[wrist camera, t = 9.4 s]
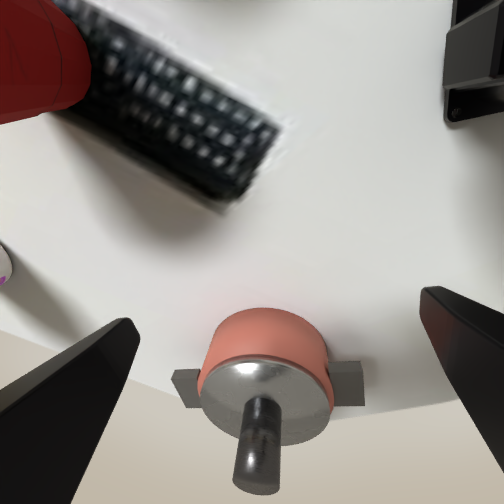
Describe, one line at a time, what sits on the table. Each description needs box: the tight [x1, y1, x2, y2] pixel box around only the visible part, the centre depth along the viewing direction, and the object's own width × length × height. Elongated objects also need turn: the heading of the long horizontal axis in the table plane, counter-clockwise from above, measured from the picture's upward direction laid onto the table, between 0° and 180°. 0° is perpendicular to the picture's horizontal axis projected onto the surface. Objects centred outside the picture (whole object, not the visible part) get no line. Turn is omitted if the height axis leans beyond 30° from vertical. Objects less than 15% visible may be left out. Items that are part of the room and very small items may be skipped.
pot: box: [171, 308, 365, 414], centre depth 25 cm, size 17×12×5 cm
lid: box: [200, 354, 330, 495], centre depth 20 cm, size 11×11×6 cm
